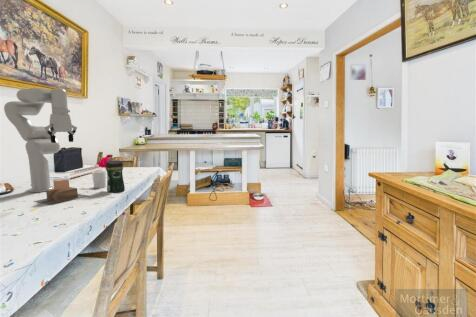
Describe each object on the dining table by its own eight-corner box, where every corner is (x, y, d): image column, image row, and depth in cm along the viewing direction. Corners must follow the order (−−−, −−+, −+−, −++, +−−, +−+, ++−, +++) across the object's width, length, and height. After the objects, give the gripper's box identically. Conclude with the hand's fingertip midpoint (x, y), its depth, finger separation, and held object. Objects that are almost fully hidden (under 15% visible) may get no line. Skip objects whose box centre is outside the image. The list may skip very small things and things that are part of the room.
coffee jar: (122, 188, 173) (120, 159, 171) (126, 191, 167) (124, 160, 165) (105, 191, 167) (103, 160, 165) (109, 193, 161) (107, 162, 159)
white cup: (101, 188, 175) (100, 172, 174) (90, 188, 177) (89, 172, 175) (109, 185, 183) (108, 170, 182) (98, 185, 184) (97, 170, 183)
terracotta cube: (54, 189, 143) (53, 180, 143) (63, 187, 148) (63, 178, 147) (59, 190, 141) (58, 181, 140) (69, 188, 145) (68, 179, 145)
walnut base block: (47, 199, 143) (46, 190, 142) (66, 195, 152) (65, 186, 151) (58, 202, 138) (57, 192, 138) (77, 197, 147) (77, 188, 146)
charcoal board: (33, 204, 140) (33, 201, 140) (72, 195, 157) (72, 192, 157) (51, 208, 133) (51, 205, 132) (90, 198, 150) (90, 195, 150)
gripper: (71, 112, 164) (73, 141, 166) (39, 111, 148) (42, 143, 150) (79, 112, 160) (81, 141, 162) (47, 110, 145) (50, 143, 147)
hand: (62, 142), depth 156 cm, fingers open, 9 cm apart
